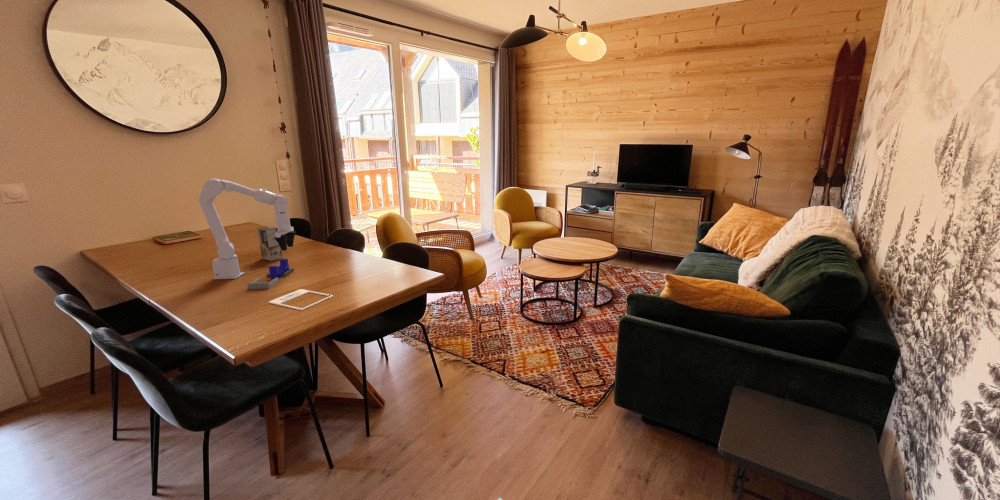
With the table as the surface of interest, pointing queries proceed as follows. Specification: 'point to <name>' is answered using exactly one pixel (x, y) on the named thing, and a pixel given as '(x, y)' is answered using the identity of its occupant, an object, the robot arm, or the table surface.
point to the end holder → (262, 284)
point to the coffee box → (269, 244)
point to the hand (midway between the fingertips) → (287, 248)
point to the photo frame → (295, 295)
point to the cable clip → (279, 269)
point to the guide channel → (284, 273)
